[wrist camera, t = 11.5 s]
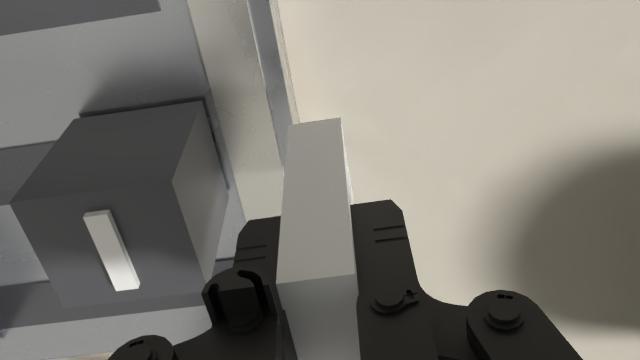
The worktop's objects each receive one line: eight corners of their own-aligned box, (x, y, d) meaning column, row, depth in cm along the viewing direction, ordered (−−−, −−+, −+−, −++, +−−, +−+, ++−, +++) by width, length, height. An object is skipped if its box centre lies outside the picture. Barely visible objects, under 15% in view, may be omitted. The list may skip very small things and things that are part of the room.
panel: (-432, -59, 17) (-518, -43, 15) (243, -178, 16) (234, -175, 14) (-116, 343, 26) (-147, 382, 24) (330, 291, 25) (332, 328, 23)
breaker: (73, 118, 18) (5, 207, 14) (202, 100, 18) (169, 186, 14) (112, 211, 20) (61, 313, 16) (229, 196, 19) (207, 296, 15)
